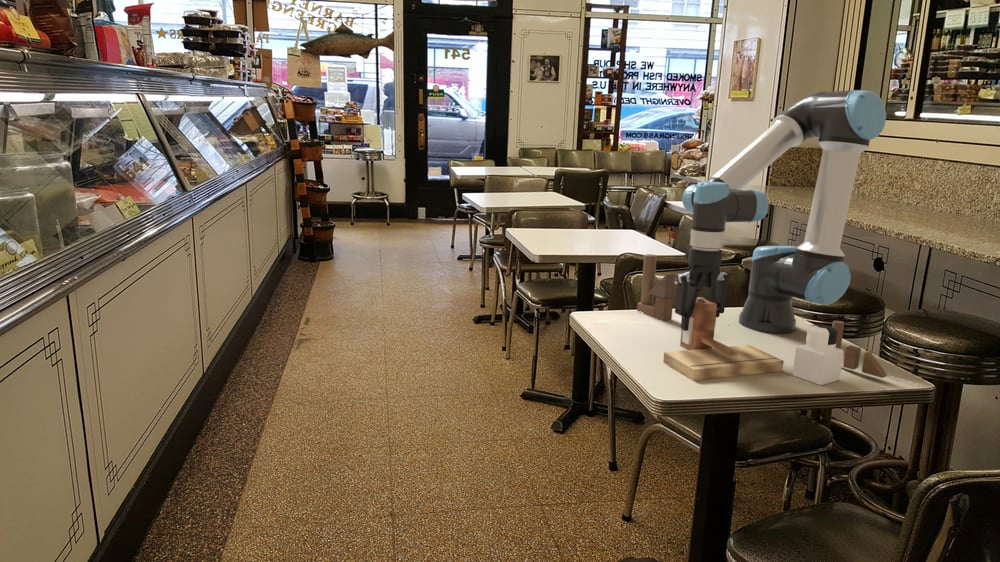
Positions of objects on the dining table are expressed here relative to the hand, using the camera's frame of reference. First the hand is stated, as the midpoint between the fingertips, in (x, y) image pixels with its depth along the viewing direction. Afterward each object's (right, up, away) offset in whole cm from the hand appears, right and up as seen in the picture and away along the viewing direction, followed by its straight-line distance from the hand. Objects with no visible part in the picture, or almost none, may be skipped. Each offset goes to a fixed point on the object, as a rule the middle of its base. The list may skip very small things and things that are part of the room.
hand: (696, 342), depth 166 cm
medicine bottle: (+23, -7, -13) cm, 27 cm away
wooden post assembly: (-3, +4, +32) cm, 33 cm away
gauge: (+2, -3, -5) cm, 6 cm away
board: (+4, -5, -8) cm, 10 cm away
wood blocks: (+36, -6, -7) cm, 38 cm away
